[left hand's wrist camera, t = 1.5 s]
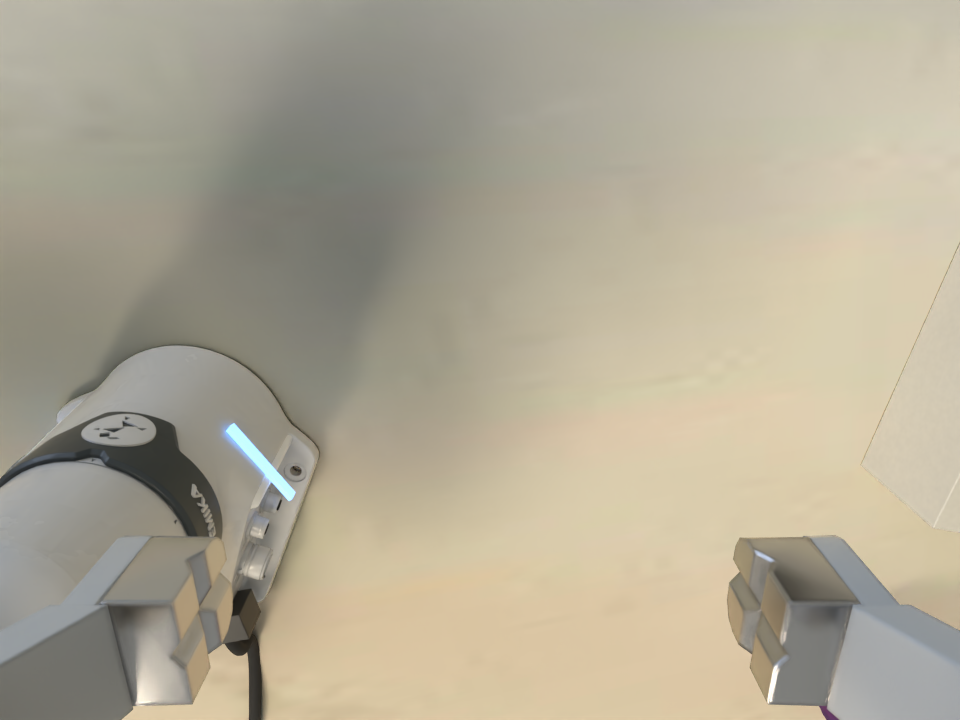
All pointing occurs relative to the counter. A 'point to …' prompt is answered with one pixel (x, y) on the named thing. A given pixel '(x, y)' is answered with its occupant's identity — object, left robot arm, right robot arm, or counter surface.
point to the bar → (926, 418)
